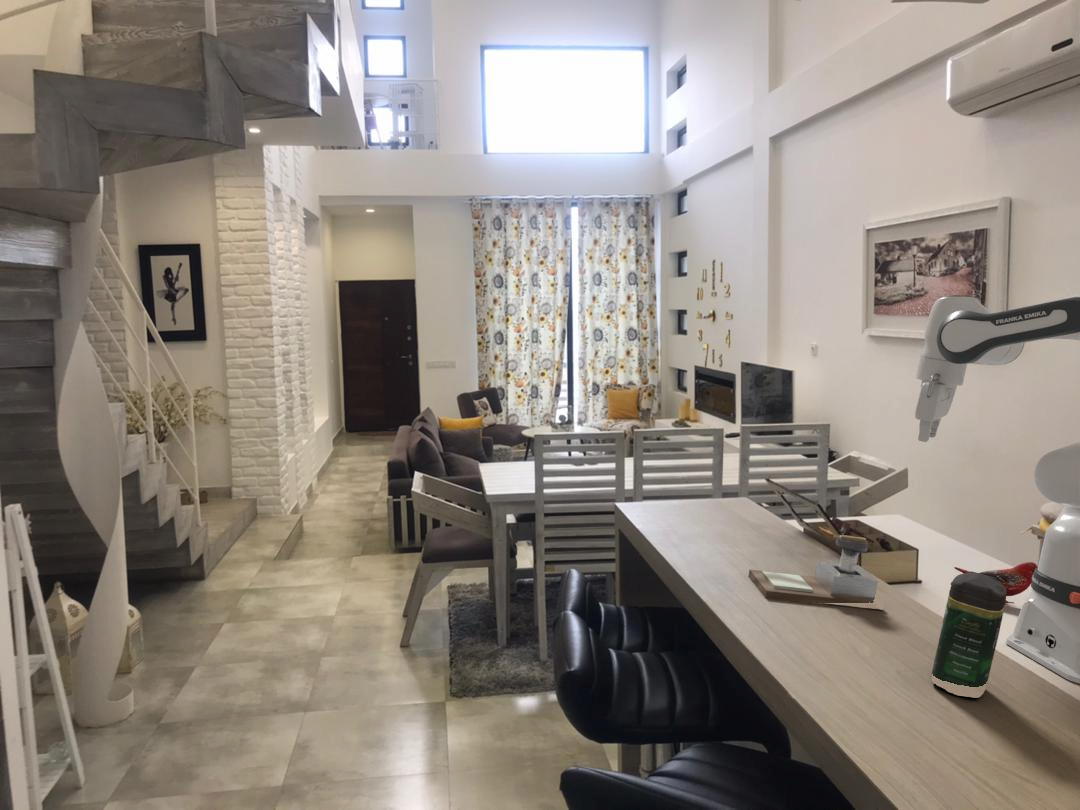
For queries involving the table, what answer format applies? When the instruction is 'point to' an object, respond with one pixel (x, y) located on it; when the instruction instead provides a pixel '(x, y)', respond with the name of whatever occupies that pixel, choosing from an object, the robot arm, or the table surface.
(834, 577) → the grey socket block
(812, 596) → the walnut board
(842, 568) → the peg
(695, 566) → the table surface
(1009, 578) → the decorative bird figurine
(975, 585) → the coffee jar
